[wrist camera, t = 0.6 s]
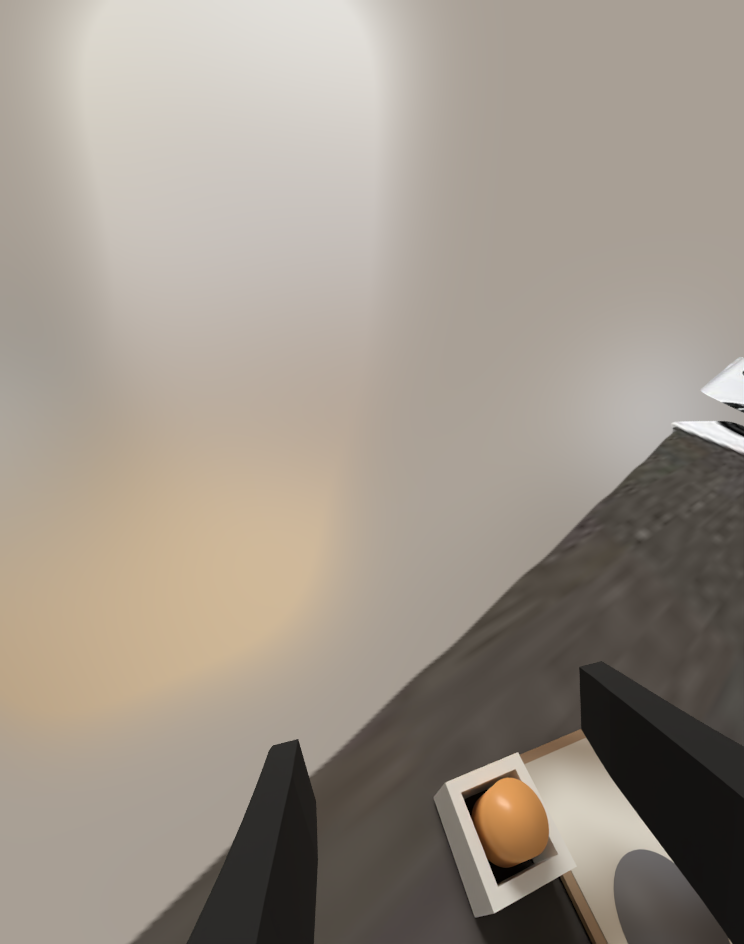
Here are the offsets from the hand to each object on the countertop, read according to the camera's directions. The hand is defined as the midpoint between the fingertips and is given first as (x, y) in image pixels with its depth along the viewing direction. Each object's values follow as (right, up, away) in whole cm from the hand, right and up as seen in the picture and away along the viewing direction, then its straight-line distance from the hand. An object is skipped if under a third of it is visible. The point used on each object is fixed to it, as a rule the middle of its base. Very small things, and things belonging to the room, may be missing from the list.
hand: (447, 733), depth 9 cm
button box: (+5, -13, +11) cm, 18 cm away
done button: (+5, -12, +10) cm, 16 cm away
